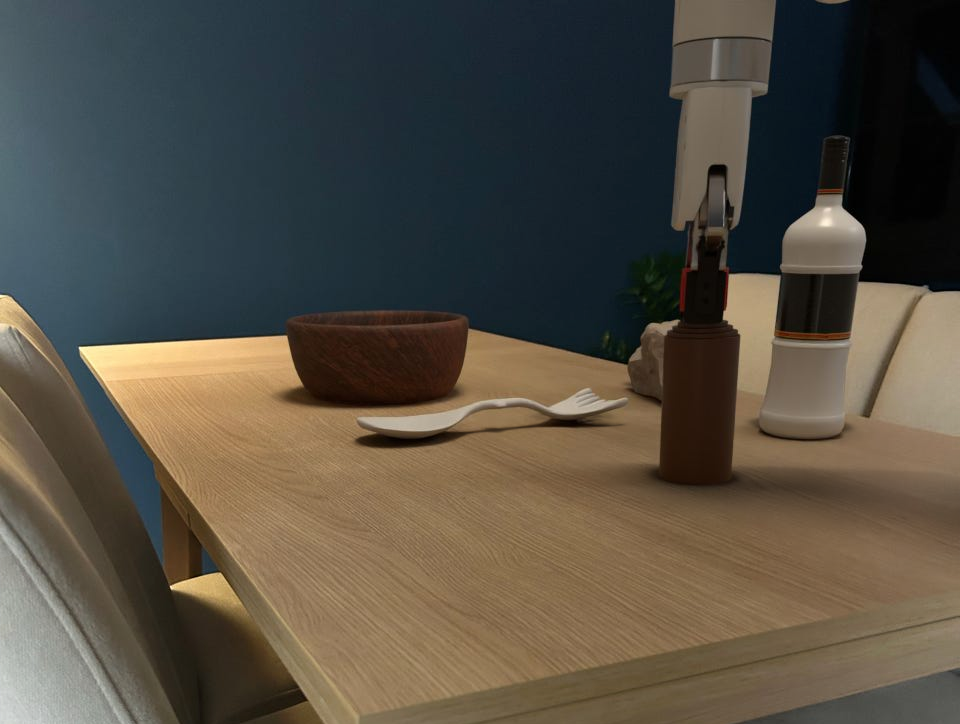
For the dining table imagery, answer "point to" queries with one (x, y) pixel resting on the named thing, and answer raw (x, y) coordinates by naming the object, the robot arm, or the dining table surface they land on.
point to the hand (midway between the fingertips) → (700, 318)
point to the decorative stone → (649, 360)
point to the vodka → (815, 311)
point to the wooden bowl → (378, 354)
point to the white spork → (436, 423)
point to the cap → (683, 285)
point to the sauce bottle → (699, 402)
